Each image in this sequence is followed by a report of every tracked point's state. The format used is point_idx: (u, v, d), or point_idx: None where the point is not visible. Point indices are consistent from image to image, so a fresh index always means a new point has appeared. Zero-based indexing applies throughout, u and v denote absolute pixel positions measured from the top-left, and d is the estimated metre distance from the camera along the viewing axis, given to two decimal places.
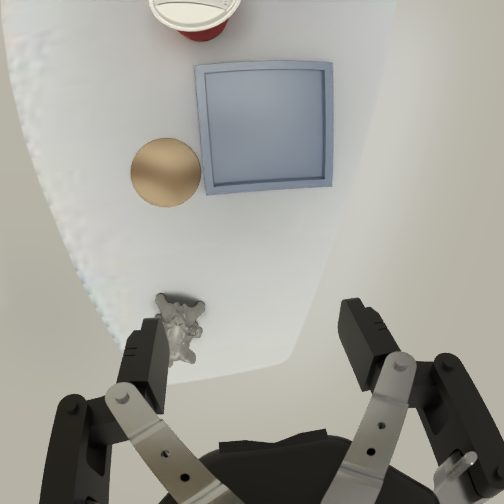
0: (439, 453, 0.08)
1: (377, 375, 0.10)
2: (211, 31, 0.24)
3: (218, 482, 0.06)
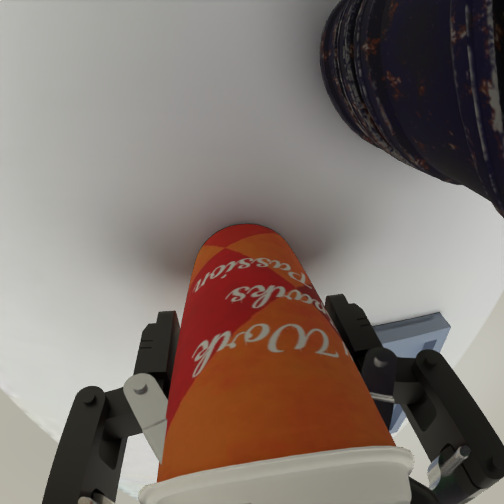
0: (430, 449, 0.08)
1: (358, 370, 0.11)
2: None
3: None
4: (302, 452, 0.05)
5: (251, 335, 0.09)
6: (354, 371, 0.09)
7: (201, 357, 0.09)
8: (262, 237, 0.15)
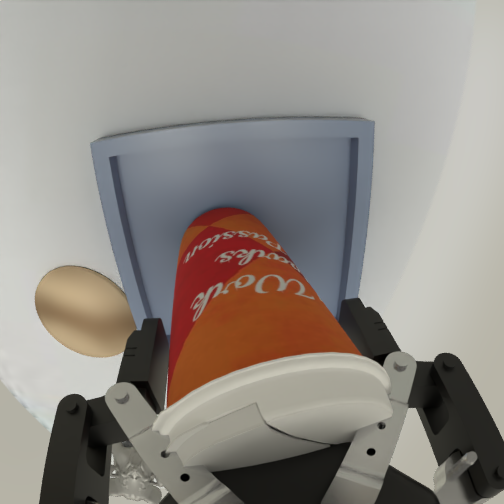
0: (439, 453, 0.08)
1: None
2: None
3: (218, 482, 0.06)
4: None
5: (240, 283, 0.11)
6: (329, 312, 0.11)
7: (199, 305, 0.11)
8: (241, 216, 0.17)
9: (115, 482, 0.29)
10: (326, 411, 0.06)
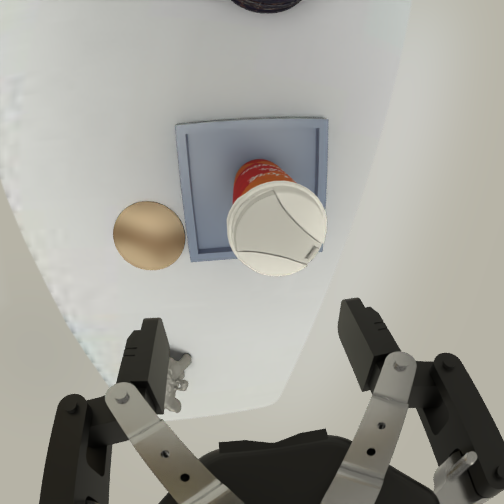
0: (439, 453, 0.08)
1: (377, 375, 0.10)
2: None
3: (218, 482, 0.06)
4: None
5: (269, 173, 0.26)
6: None
7: (252, 179, 0.26)
8: (270, 162, 0.33)
9: None
10: (295, 196, 0.22)
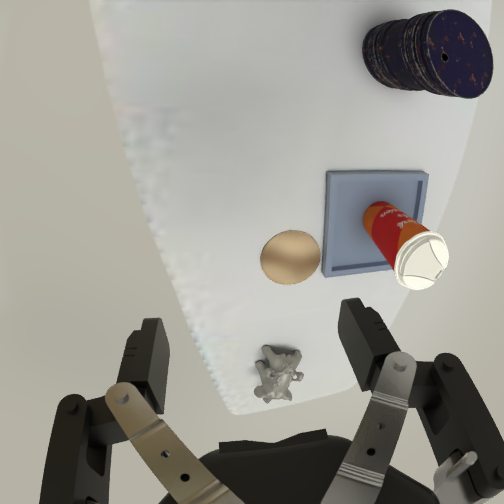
0: (439, 453, 0.08)
1: (377, 375, 0.10)
2: None
3: (218, 482, 0.06)
4: None
5: (410, 221, 0.36)
6: None
7: (400, 225, 0.36)
8: (392, 205, 0.42)
9: (264, 386, 0.54)
10: (438, 242, 0.32)
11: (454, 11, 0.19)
